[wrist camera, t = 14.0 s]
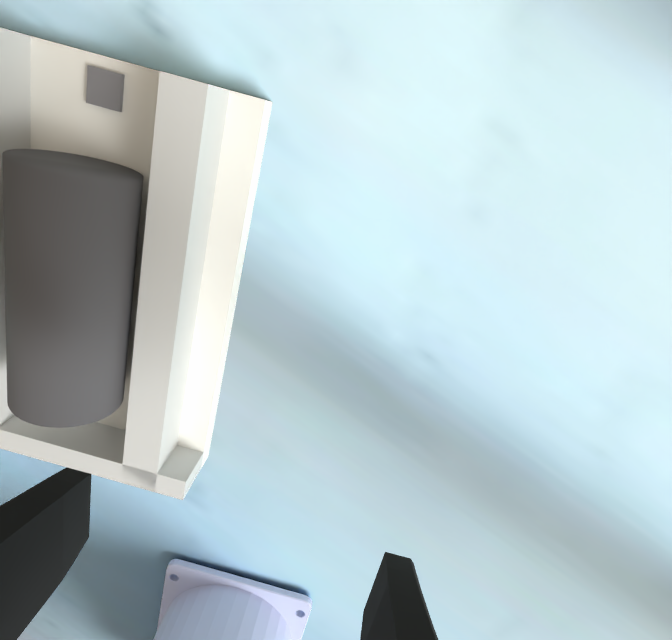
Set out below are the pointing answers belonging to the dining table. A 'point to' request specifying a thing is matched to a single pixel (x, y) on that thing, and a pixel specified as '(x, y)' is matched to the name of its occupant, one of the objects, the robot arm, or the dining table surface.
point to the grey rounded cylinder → (68, 283)
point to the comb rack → (145, 246)
